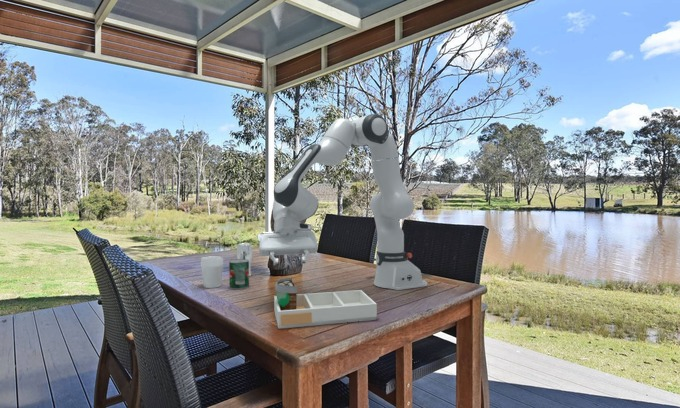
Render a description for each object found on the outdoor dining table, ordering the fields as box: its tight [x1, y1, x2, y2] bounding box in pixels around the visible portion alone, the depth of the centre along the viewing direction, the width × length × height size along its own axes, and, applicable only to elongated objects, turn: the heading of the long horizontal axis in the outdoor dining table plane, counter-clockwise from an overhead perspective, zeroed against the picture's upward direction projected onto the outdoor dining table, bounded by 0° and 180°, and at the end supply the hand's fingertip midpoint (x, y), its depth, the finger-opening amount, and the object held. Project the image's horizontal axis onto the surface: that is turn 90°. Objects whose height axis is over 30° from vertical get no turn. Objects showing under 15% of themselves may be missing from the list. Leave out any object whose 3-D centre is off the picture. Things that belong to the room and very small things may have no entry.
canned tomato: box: [228, 259, 250, 290], centre depth 156 cm, size 8×8×11 cm
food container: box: [274, 277, 298, 311], centre depth 119 cm, size 12×6×10 cm, turn 14°
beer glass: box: [236, 242, 253, 278], centre depth 176 cm, size 7×7×15 cm
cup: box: [200, 255, 224, 289], centre depth 157 cm, size 9×9×12 cm
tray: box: [273, 289, 378, 330], centre depth 121 cm, size 30×17×5 cm, turn 104°
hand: (290, 263), depth 127 cm, fingers open, 8 cm apart
